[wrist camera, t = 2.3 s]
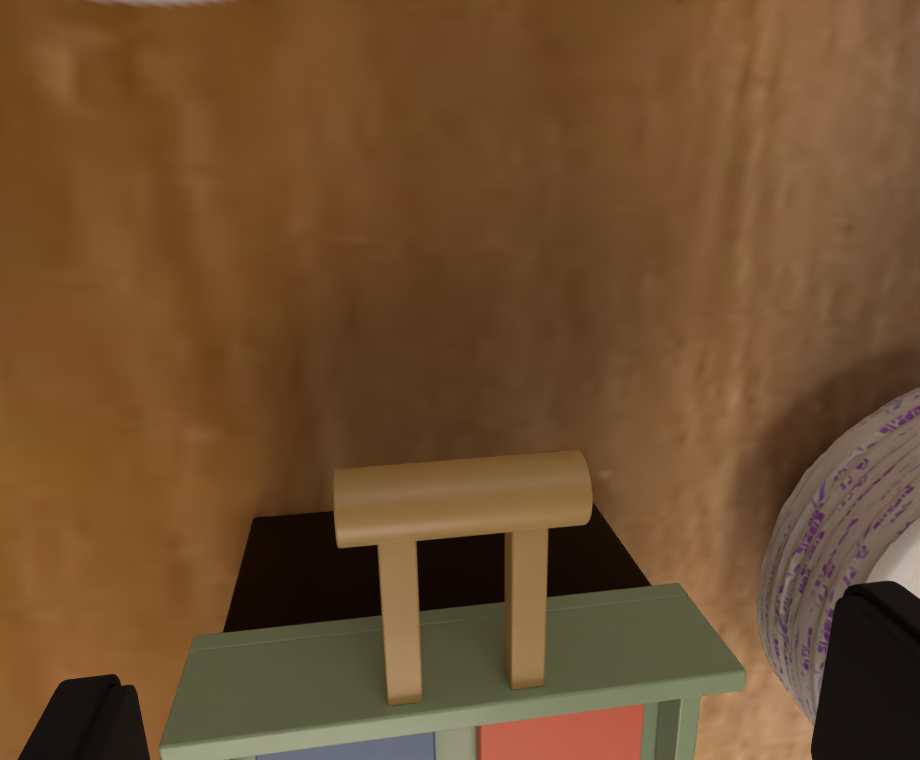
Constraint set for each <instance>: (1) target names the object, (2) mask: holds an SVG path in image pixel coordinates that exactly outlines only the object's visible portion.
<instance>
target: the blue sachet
mask: <svg viewBox="0 0 920 760" xmlns="http://www.w3.org/2000/svg"><path fill="white" fill-rule="evenodd" d="M255 758H256V760H436V750H435V732H429V733H422V734H414V735H407V736H399V737H392V738H384V739H377V740H370V741H362V742H355V743H347V744H340V745H332V746H325V747H317V748H310V749H302V750H295V751H287V752H280V753H273V754H265V755H258V756H255Z"/></svg>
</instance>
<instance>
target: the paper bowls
mask: <svg viewBox="0 0 920 760" xmlns="http://www.w3.org/2000/svg"><path fill="white" fill-rule="evenodd" d="M887 580H888V581H895V582H897V583H898V584H900V585H902V586H903V587H905V588H906V589H907V590H909V591H910V592H911V593H913V594H914V595H915V596H917V597H918V598H919V599H920V387H919V388H916V389H914V390H912V391H910V392H908V393H906V394H904V395H901V396H899V397H897V398H895V399H893V400H892V401H890V402H889V403H887V404H885V405H883V406H882V407H880V408H879V409H878V410H876V411H875V412H874V413H872V414H870V415H868V416H866V417H865V418H864V419H862V420H861V421H860V422H859V423H857V424H856V425H854V426H853V427H852V428H850V429H849V430H848V431H846V432H845V433H844V434H843V435H841V436H840V437H839V438H838V439H837V440H836V441H835V442H834V443H833V444H832V445H831V446H830V447H829V448H828V449H827V451H825V452H824V453H823V454H821V455H820V456H819V458H818V459H817V460H816V461H815V462H814V463H813V464H812V466H811V467H809V468H808V469H807V470H806V471H805V473H804V474H803V476H802V478H801V479H800V481H799V483H798V484H797V486H796V487H795V489H794V491H793V492H792V494H791V496H790V497H789V498H788V499H787V501H786V502H785V503H784V505H783V507H782V509H781V511H780V513H779V515H778V518H777V521H776V524H775V526H774V529H773V534H772V537H771V539H770V542H769V545H768V547H767V550H766V553H765V556H764V559H763V562H762V566H761V570H760V581H759V585H758V590H759V598H758V599H757V613H758V618H757V619H758V623H759V632H760V637H761V640H762V645H763V648H764V650H765V654H766V657H767V659H768V660H769V662H770V664H771V666H772V668H773V670H774V672H775V674H776V675H777V676H778V678H779V680H780V681H781V682H782V683H783V685H784V686H785V688H786V690H787V691H788V692H789V694H790V695H791V697H792V698H793V700H794V701H795V703H796V704H797V705H798V707H799V708H800V709H801V710H802V712H803V713H804V714H805V715H806V716H807V718H808V719H809V721H810V722H811V723H812V724H813V725H814V726H815V720H816V714H817V708H818V702H819V696H820V690H821V684H822V679H823V673H824V667H825V661H826V655H827V649H828V643H829V637H830V631H831V625H832V619H833V613H834V607H835V604H836V601H837V600H838V599H839V598H841V597H843V594H844V591H845V590H846V589H847V588H848V586H851V585H854V584H862V583H871V582H879V581H887Z"/></svg>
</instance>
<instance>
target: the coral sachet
mask: <svg viewBox="0 0 920 760" xmlns="http://www.w3.org/2000/svg"><path fill="white" fill-rule="evenodd" d="M644 705H645V704H638V705H631V706H623V707H616V708H608V709H601V710H593V711H586V712H578V713H571V714H564V715H556V716H549V717H541V718H534V719H526V720H519V721H511V722H504V723H496V724H489V725H481V726H476V760H640V755H641V742H642V730H643V717H644Z"/></svg>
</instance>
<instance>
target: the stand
mask: <svg viewBox="0 0 920 760" xmlns="http://www.w3.org/2000/svg"><path fill="white" fill-rule="evenodd" d="M417 564H418V587H419V611H427V610H436V609H445V608H454V607H464V606H473V605H482V604H491V603H500V602H505V533H495V534H484V535H474V536H463V537H453V538H443V539H432V540H422V541H417ZM646 586H652V585H651V584H650V583H649V581H648V580H647V578H646V577H645V576H644V574H643V573H642V571H641V570H640V568H639V567H638V566H637V564H636V563H635V561H634V560H633V558H632V557H631V556H630V554H629V553H628V551H627V550H626V549H625V547H624V546H623V544H622V543H621V541H620V540H619V539H618V537H617V536H616V534H615V533H614V531H613V530H612V529H611V527H610V526H609V524H608V523H607V522H606V520H605V519H604V517H603V516H602V514H601V513H600V512H599V510H598V509H597V507H596V506H595V504H594V503H593V506H592V513H591V517H590V520H589V522H588V523H587V524H585V525H579V526H568V527H558V528H548V567H547V597H555V596H564V595H573V594H582V593H591V592H600V591H609V590H619V589H628V588H637V587H646ZM381 615H382V611H381V596H380V580H379V564H378V548H377V545H369V546H359V547H348V548H338V546H337V542H336V535H335V523H334V511H330V512H319V513H307V514H296V515H285V516H273V517H262V518H254V519H253V521H252V525H251V529H250V532H249V536H248V540H247V544H246V547H245V551H244V555H243V559H242V562H241V566H240V570H239V574H238V577H237V581H236V585H235V589H234V593H233V596H232V600H231V604H230V608H229V611H228V615H227V619H226V623H225V626H224V630H223V633H226V632H235V631H245V630H254V629H263V628H272V627H281V626H290V625H299V624H308V623H318V622H327V621H336V620H345V619H354V618H363V617H372V616H381Z"/></svg>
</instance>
